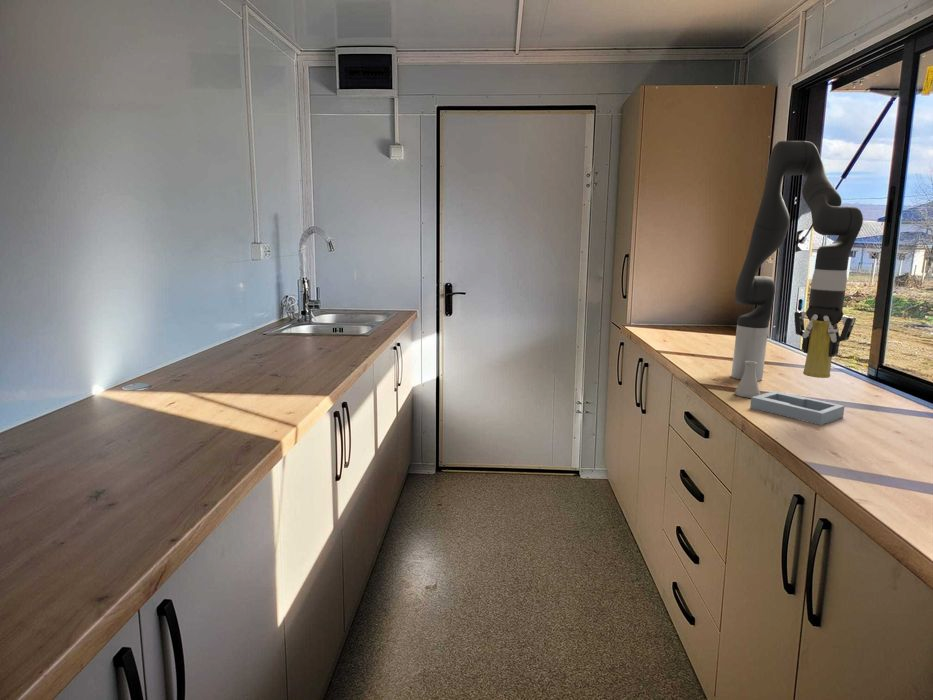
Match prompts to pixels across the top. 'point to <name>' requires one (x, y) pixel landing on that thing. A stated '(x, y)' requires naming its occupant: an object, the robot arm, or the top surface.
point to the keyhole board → (797, 407)
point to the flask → (748, 382)
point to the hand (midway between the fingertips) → (818, 354)
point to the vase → (818, 351)
